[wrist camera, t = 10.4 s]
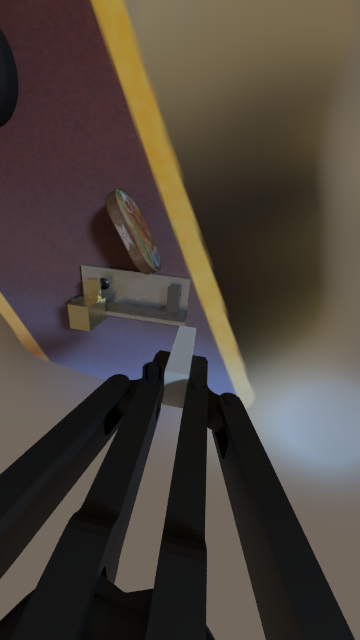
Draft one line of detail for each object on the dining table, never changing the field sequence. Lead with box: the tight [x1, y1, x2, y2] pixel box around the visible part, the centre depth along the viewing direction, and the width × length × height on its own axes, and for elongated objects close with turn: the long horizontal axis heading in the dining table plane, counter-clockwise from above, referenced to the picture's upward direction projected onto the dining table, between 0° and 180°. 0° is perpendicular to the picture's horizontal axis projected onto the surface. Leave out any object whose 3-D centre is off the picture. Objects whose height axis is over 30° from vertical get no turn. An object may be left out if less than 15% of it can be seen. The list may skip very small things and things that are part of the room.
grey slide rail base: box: [71, 286, 187, 323], centre depth 43 cm, size 8×24×5 cm, turn 84°
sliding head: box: [67, 277, 107, 331], centre depth 42 cm, size 9×4×9 cm, turn 174°
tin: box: [105, 187, 161, 275], centre depth 37 cm, size 15×3×8 cm, turn 24°
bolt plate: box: [81, 264, 191, 326], centre depth 45 cm, size 11×24×1 cm, turn 84°
